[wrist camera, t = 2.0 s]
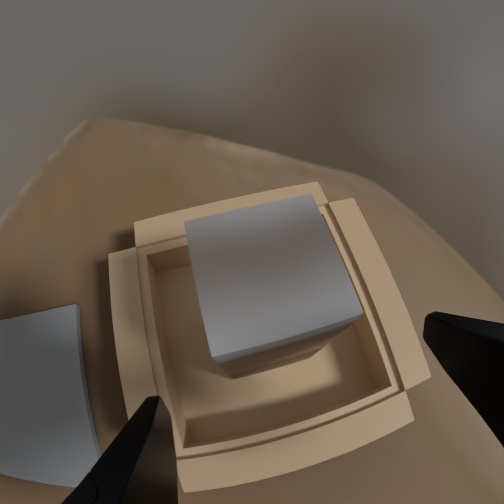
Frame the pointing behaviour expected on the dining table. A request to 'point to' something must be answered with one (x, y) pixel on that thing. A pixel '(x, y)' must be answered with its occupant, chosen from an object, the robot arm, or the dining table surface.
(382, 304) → the carton
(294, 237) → the grey rectangular block
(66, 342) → the rubber mat
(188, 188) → the dining table surface
